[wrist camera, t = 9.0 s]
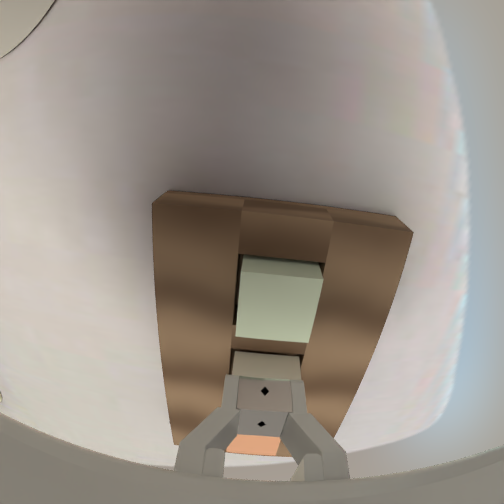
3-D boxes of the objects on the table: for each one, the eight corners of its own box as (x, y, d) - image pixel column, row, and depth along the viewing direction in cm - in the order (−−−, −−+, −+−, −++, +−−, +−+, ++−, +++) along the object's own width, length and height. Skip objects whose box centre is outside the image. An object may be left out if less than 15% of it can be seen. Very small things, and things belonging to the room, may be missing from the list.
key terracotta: (232, 394, 26) (228, 426, 23) (282, 398, 26) (283, 430, 22) (229, 421, 28) (226, 451, 24) (275, 425, 28) (275, 455, 24)
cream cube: (235, 350, 21) (229, 389, 18) (299, 356, 21) (302, 395, 18) (231, 391, 23) (227, 428, 20) (288, 396, 23) (290, 433, 20)
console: (167, 190, 20) (152, 203, 17) (395, 216, 20) (413, 232, 17) (179, 422, 30) (174, 444, 27) (320, 434, 30) (323, 456, 27)
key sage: (245, 244, 20) (240, 271, 17) (315, 252, 20) (323, 279, 17) (240, 303, 22) (235, 336, 19) (303, 309, 22) (308, 342, 19)
